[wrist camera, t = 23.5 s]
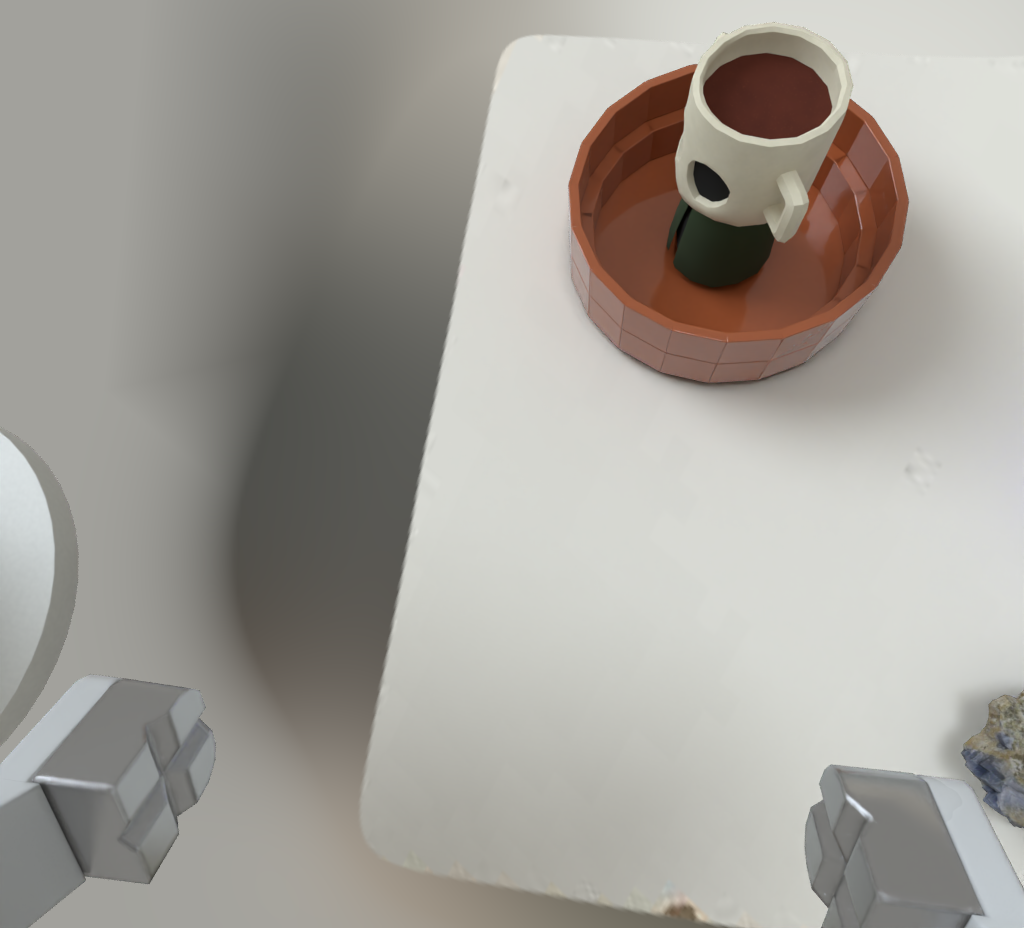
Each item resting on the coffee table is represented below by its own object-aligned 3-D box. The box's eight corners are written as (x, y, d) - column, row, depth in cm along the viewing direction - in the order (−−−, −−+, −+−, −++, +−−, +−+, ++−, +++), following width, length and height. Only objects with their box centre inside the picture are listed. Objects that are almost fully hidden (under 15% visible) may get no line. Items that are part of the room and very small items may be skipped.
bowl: (537, 349, 44) (531, 300, 38) (608, 115, 48) (613, 40, 42) (837, 417, 41) (880, 375, 35) (883, 161, 45) (928, 87, 39)
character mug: (635, 194, 45) (657, 15, 33) (740, 164, 45) (802, -27, 33) (690, 339, 42) (738, 201, 30) (804, 307, 42) (899, 156, 30)
